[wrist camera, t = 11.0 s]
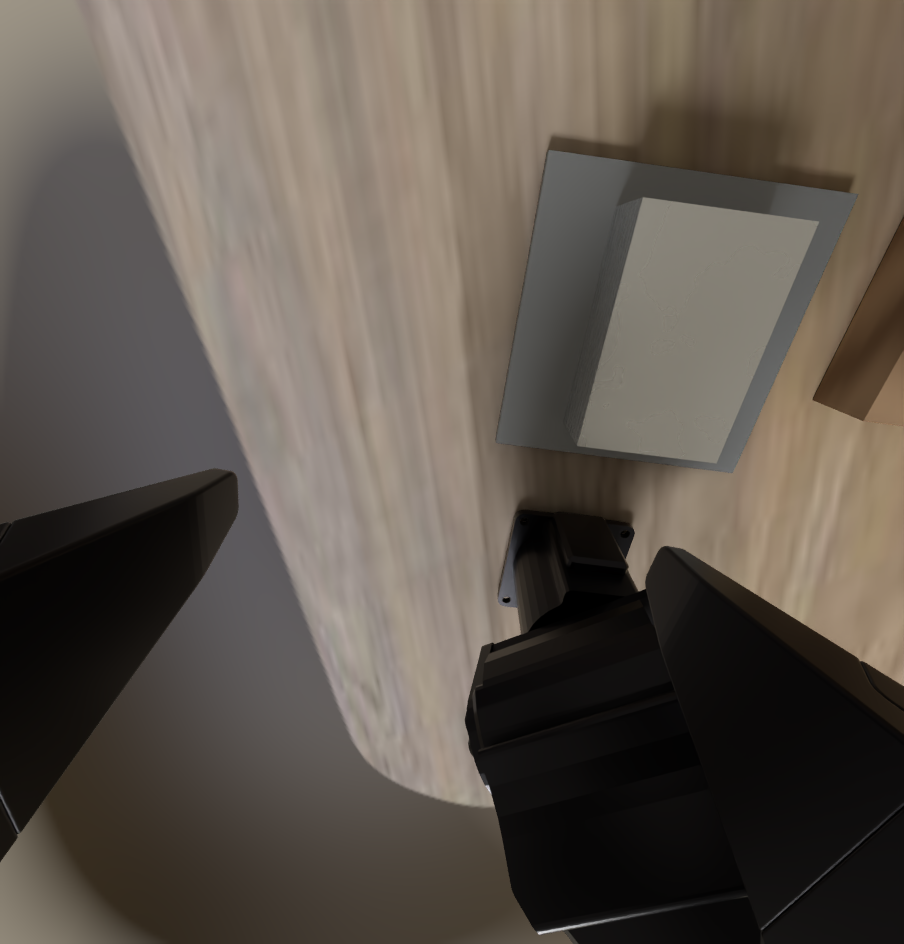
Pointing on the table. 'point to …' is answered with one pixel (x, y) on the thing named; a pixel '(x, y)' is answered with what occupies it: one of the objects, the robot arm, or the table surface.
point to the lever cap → (680, 325)
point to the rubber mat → (577, 271)
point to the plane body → (873, 349)
